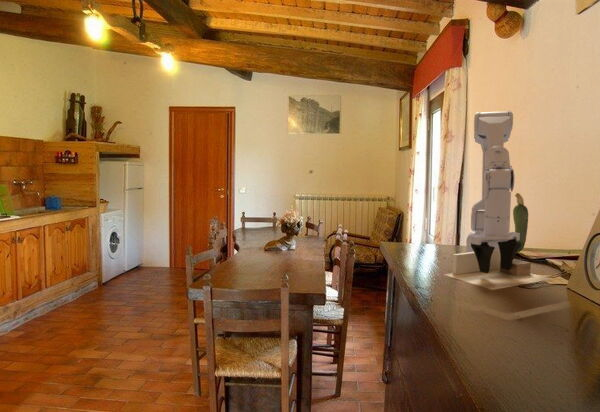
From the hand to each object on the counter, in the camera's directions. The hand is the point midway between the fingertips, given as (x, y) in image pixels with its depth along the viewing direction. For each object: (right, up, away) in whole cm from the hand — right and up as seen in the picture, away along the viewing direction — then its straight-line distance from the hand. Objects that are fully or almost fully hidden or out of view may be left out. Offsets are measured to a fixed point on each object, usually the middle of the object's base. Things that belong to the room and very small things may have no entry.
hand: (495, 270), depth 106 cm
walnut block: (+7, -1, +3) cm, 7 cm away
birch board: (0, -2, 0) cm, 2 cm away
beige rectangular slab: (-2, -1, +6) cm, 6 cm away
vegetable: (+22, 0, +32) cm, 39 cm away
